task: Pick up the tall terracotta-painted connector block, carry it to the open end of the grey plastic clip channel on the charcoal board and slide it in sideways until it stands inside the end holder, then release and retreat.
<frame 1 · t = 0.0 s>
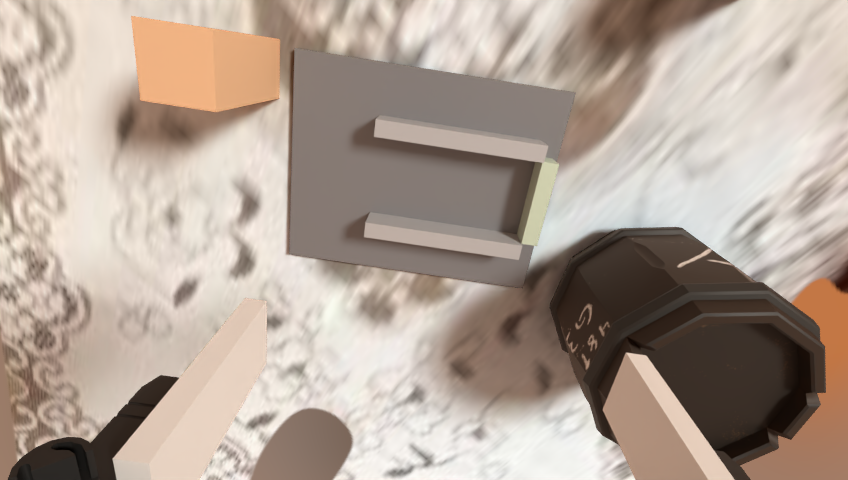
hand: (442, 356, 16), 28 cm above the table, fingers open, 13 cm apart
wooden barrel: (631, 292, 46), on the table
connector block: (251, 65, 38), on the table
end holder: (445, 182, 42), on the table
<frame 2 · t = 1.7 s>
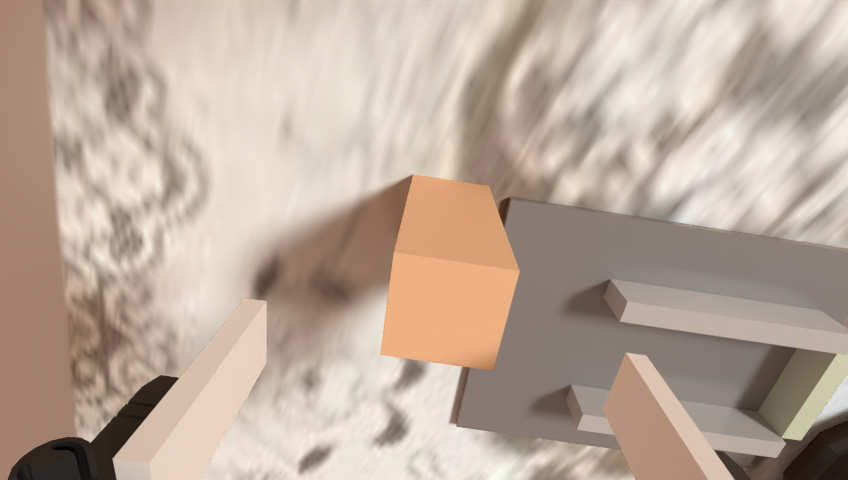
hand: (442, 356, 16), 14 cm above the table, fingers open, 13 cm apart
connector block: (444, 215, 29), on the table
end holder: (674, 351, 32), on the table
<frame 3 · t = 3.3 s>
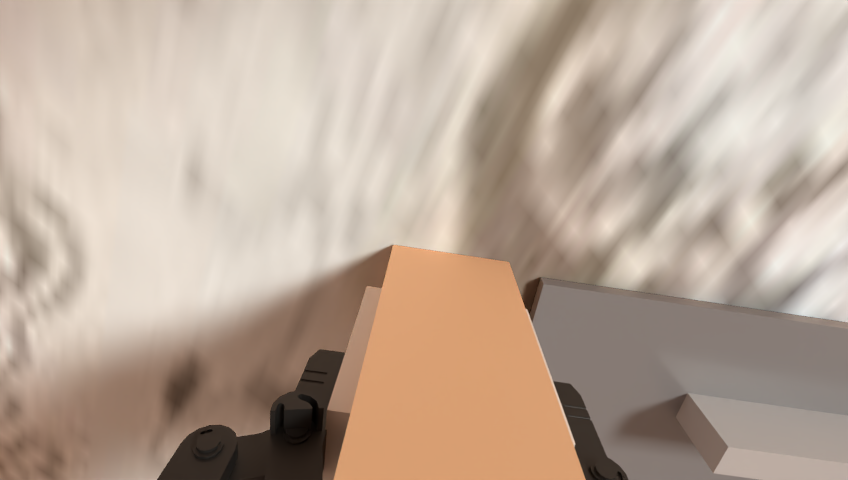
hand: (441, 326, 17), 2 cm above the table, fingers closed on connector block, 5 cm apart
connector block: (441, 303, 19), on the table, touching gripper
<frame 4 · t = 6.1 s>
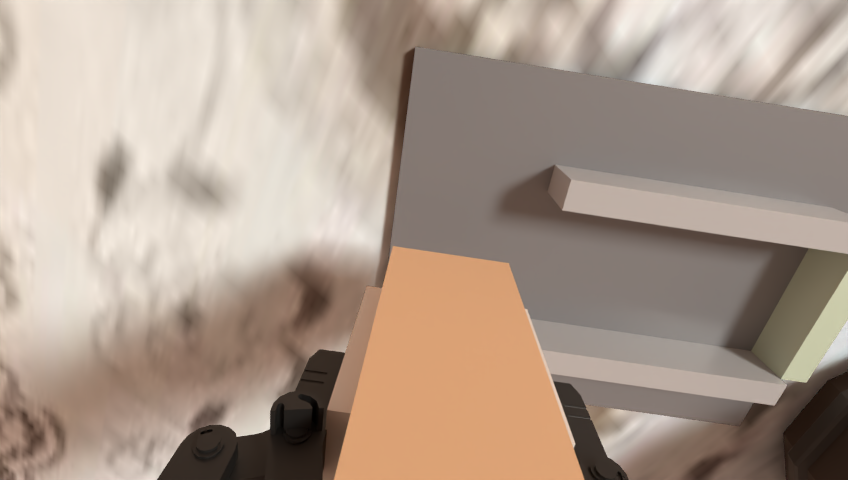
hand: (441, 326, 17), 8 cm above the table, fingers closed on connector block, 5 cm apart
connector block: (441, 304, 19), point 6 cm above the table, touching gripper
end holder: (643, 271, 25), on the table
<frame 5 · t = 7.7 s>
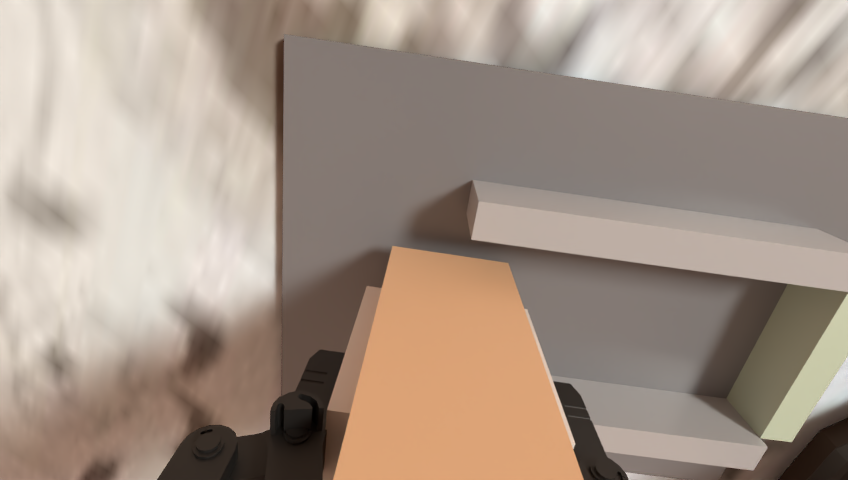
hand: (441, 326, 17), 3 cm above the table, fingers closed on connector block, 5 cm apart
connector block: (441, 304, 19), point 2 cm above the table, touching gripper
end holder: (592, 305, 21), on the table
when the fingers open (3 cm above the table, at t = 8.9 s): connector block drops 1 cm, resting on end holder.
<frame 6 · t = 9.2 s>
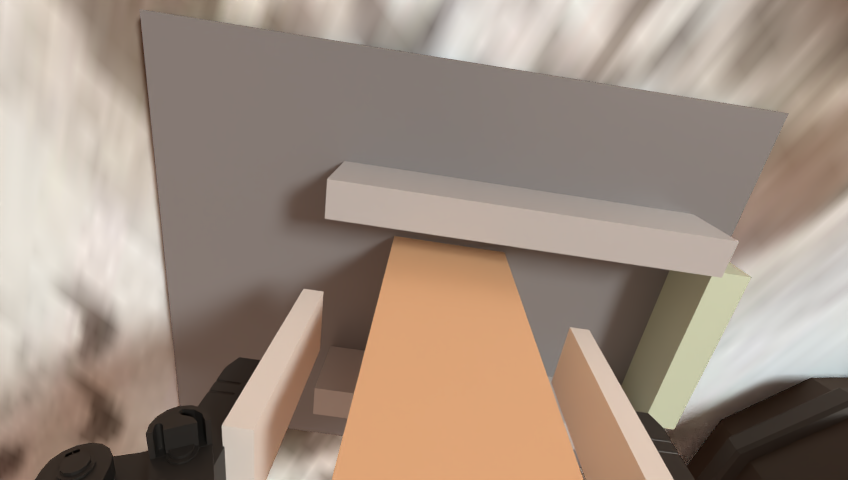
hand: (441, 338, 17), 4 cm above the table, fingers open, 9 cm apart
wooden barrel: (819, 475, 25), on the table
connector block: (440, 292, 20), point 1 cm above the table, touching end holder
end holder: (481, 291, 21), on the table
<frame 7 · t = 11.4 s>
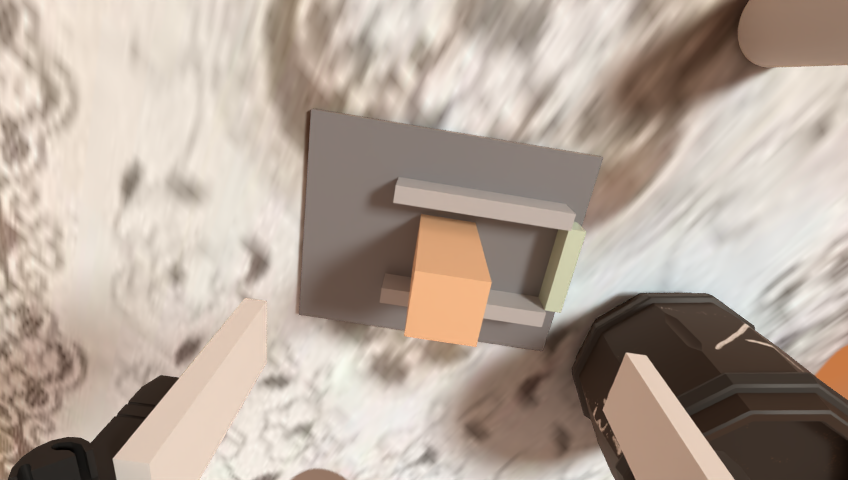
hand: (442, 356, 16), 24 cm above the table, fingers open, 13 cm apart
wooden barrel: (655, 355, 44), on the table
beverage can: (772, 23, 33), on the table
connector block: (443, 243, 39), point 1 cm above the table, touching end holder
end holder: (464, 244, 40), on the table
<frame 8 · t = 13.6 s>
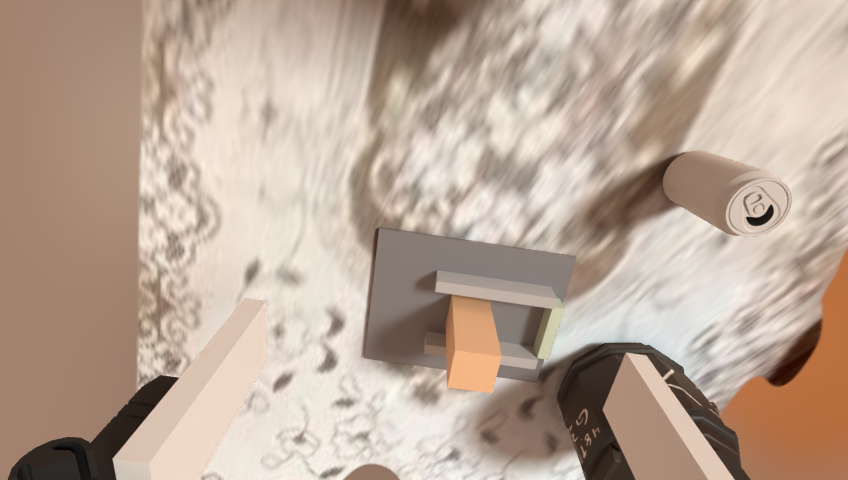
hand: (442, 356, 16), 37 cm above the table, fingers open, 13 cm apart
wooden barrel: (617, 384, 62), on the table
beverage can: (686, 175, 50), on the table
connector block: (467, 311, 57), point 1 cm above the table, touching end holder
end holder: (481, 311, 57), on the table
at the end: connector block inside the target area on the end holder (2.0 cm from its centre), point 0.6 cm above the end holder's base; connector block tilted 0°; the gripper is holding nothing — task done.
